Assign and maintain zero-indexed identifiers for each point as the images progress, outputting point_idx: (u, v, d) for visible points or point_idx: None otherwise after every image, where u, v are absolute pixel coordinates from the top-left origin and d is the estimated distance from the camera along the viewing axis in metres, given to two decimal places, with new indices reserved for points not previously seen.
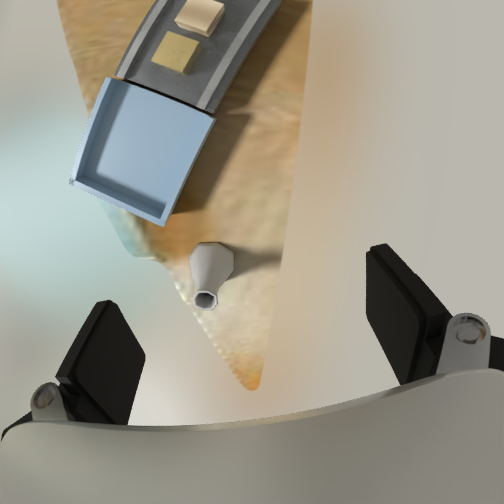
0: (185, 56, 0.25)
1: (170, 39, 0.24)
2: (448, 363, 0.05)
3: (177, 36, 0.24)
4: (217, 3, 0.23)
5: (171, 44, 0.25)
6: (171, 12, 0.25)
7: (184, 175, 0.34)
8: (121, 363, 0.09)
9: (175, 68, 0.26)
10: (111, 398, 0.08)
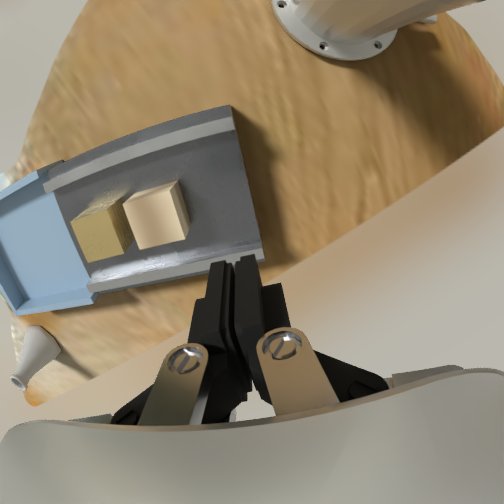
0: (100, 253, 0.22)
1: (101, 221, 0.21)
2: (278, 386, 0.05)
3: (110, 226, 0.21)
4: (180, 231, 0.22)
5: (98, 227, 0.21)
6: (144, 166, 0.22)
7: (47, 310, 0.28)
8: None
9: (85, 253, 0.22)
10: (243, 358, 0.08)
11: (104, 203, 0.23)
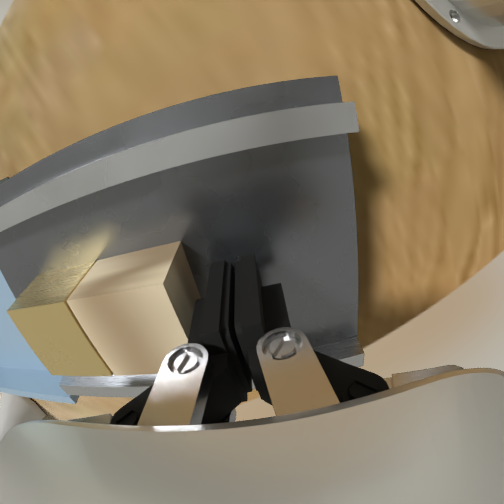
0: (69, 368, 0.10)
1: (59, 322, 0.09)
2: (278, 386, 0.05)
3: (76, 331, 0.09)
4: None
5: (55, 330, 0.09)
6: (138, 201, 0.10)
7: (16, 394, 0.16)
8: None
9: (43, 362, 0.10)
10: (243, 358, 0.08)
11: (66, 269, 0.11)
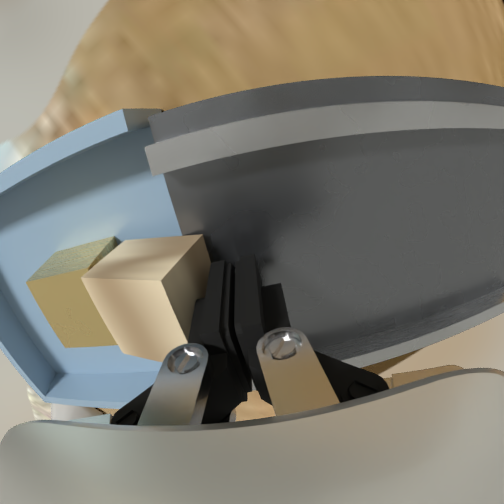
0: (84, 338, 0.12)
1: (79, 289, 0.10)
2: (278, 386, 0.05)
3: None
4: None
5: (74, 298, 0.11)
6: (423, 150, 0.10)
7: (116, 407, 0.15)
8: None
9: (58, 334, 0.12)
10: (243, 358, 0.08)
11: (86, 244, 0.13)
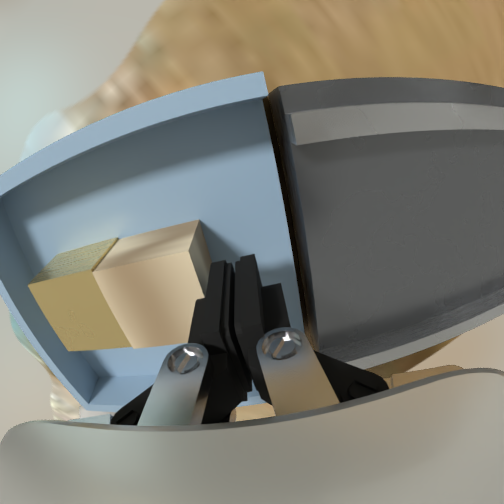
0: (88, 341, 0.11)
1: (83, 291, 0.10)
2: (278, 386, 0.05)
3: (100, 300, 0.10)
4: None
5: (77, 300, 0.10)
6: (493, 147, 0.09)
7: None
8: None
9: (61, 337, 0.11)
10: (243, 358, 0.08)
11: (88, 246, 0.12)
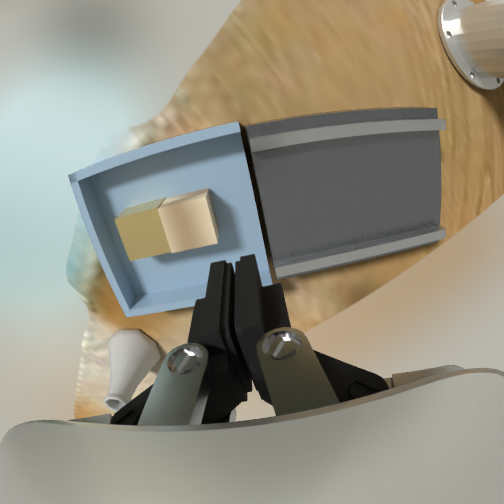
0: (145, 251, 0.24)
1: (150, 219, 0.23)
2: (278, 386, 0.05)
3: (159, 224, 0.23)
4: (213, 236, 0.24)
5: (145, 225, 0.23)
6: (370, 144, 0.22)
7: (193, 304, 0.27)
8: None
9: (127, 251, 0.24)
10: (243, 358, 0.08)
11: (147, 202, 0.25)
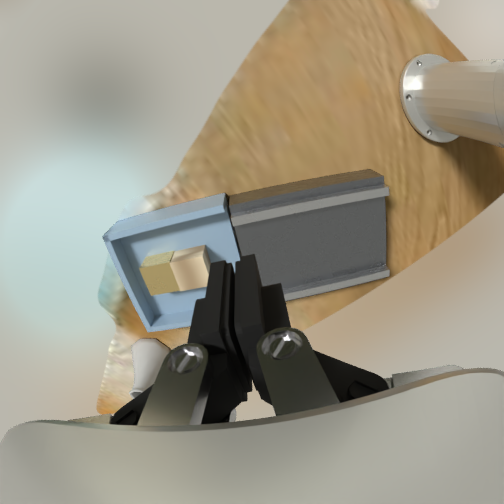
0: (162, 289, 0.34)
1: (164, 269, 0.33)
2: (278, 386, 0.05)
3: (171, 272, 0.33)
4: None
5: (161, 273, 0.33)
6: (322, 212, 0.32)
7: None
8: None
9: (149, 289, 0.34)
10: (243, 358, 0.08)
11: (161, 253, 0.35)
